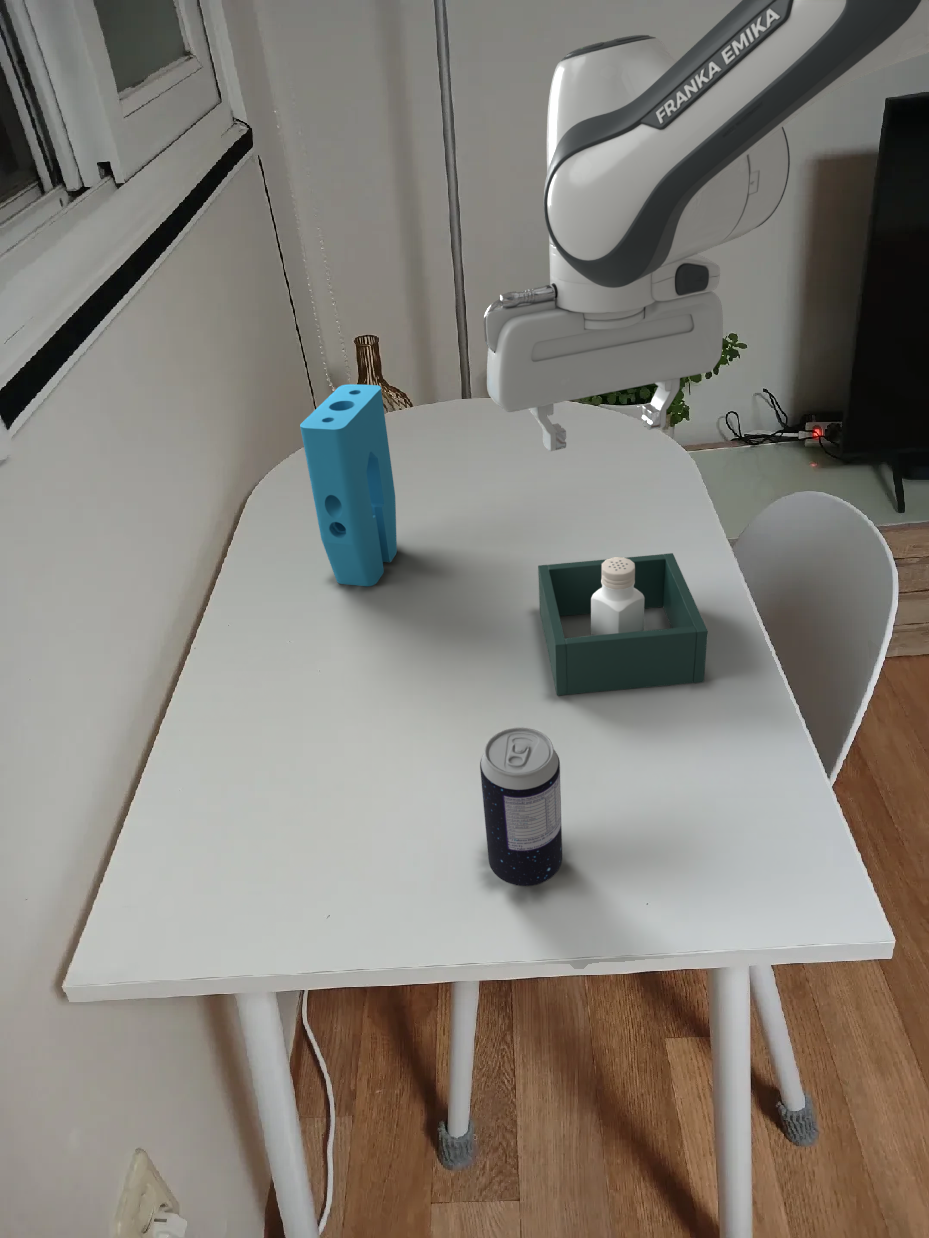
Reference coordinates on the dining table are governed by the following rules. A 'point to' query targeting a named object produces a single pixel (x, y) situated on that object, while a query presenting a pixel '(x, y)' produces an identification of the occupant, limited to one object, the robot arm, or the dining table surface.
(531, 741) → the beverage can
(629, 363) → the robot arm
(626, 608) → the salt shaker
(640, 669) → the bin
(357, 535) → the block
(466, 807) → the dining table surface
